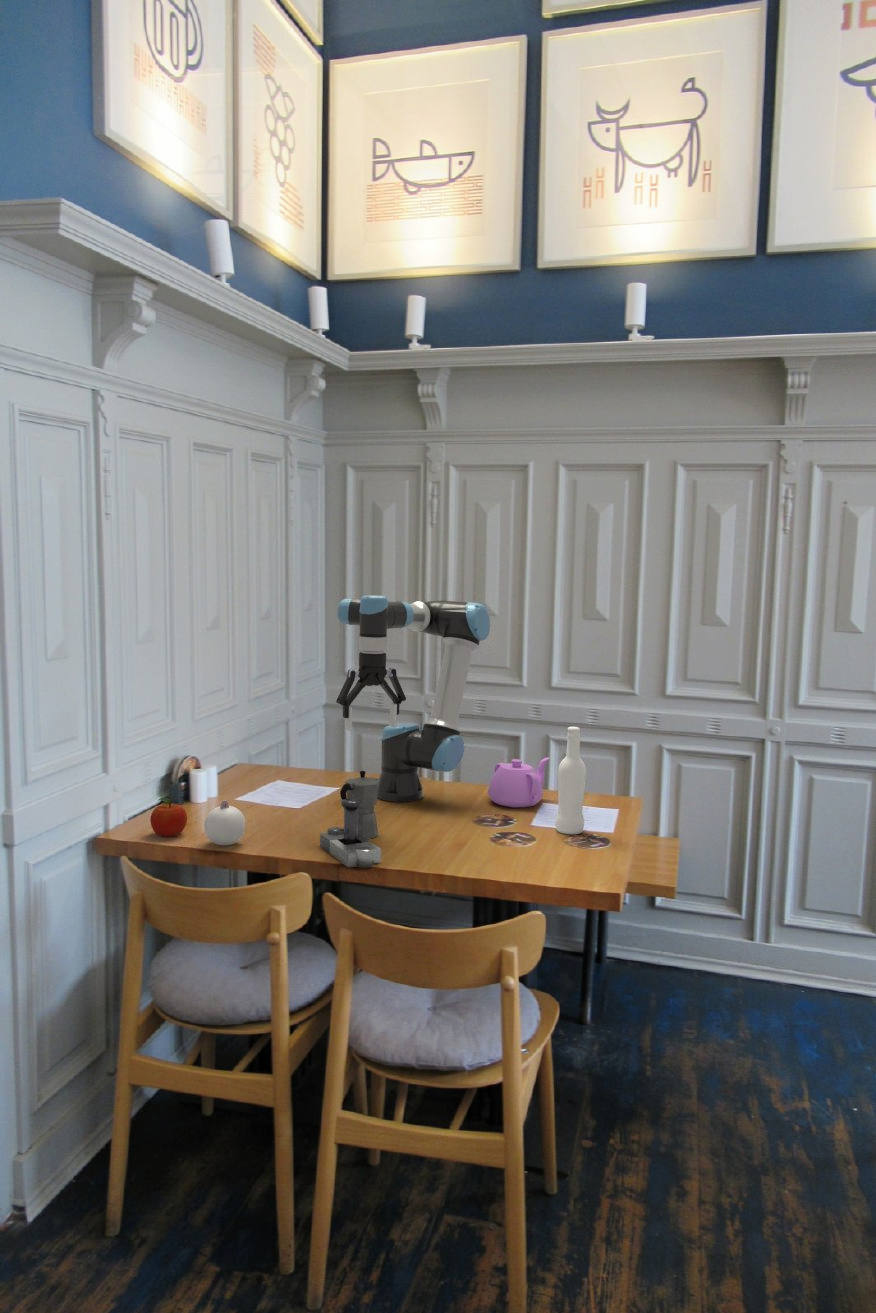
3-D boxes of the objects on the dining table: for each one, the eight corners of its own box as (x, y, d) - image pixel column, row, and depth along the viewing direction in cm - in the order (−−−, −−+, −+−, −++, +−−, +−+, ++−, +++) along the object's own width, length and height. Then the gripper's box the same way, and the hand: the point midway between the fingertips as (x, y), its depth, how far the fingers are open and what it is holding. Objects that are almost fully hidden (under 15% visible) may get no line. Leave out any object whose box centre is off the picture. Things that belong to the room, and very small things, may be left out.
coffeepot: (363, 826, 269) (364, 763, 267) (389, 832, 264) (391, 769, 262) (327, 838, 256) (328, 773, 254) (353, 846, 251) (355, 779, 249)
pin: (363, 855, 243) (365, 802, 242) (345, 858, 241) (346, 804, 239) (355, 849, 248) (356, 797, 246) (336, 852, 245) (338, 799, 244)
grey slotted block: (347, 839, 256) (348, 825, 256) (384, 865, 237) (385, 849, 236) (316, 844, 252) (316, 829, 251) (351, 870, 232) (352, 854, 232)
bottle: (586, 828, 273) (591, 726, 270) (580, 836, 266) (586, 730, 262) (558, 825, 276) (563, 723, 272) (552, 832, 268) (557, 728, 265)
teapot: (569, 806, 297) (572, 762, 296) (515, 815, 285) (517, 770, 284) (525, 790, 315) (526, 749, 314) (472, 798, 303) (473, 755, 302)
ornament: (225, 853, 242) (225, 807, 241) (196, 845, 248) (196, 800, 246) (253, 843, 251) (253, 798, 249) (224, 835, 256) (225, 792, 255)
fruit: (173, 842, 250) (173, 805, 249) (143, 837, 253) (143, 800, 252) (194, 832, 259) (194, 796, 258) (165, 827, 262) (165, 792, 261)
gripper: (406, 649, 270) (404, 722, 273) (325, 651, 258) (323, 728, 260) (419, 652, 264) (417, 727, 266) (336, 654, 252) (334, 733, 254)
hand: (371, 728), depth 263 cm, fingers open, 13 cm apart
